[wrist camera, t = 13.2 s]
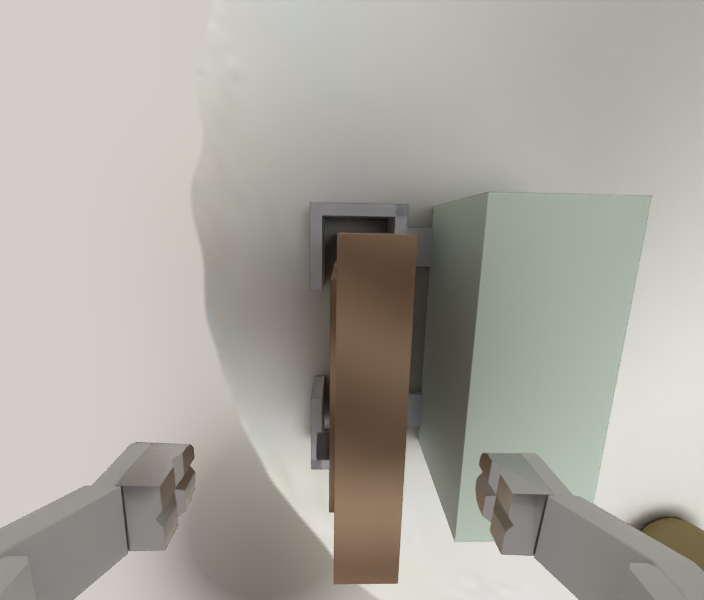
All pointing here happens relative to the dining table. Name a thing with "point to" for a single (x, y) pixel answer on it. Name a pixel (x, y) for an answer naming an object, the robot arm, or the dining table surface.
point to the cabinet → (511, 333)
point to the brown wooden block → (369, 401)
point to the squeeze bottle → (679, 538)
